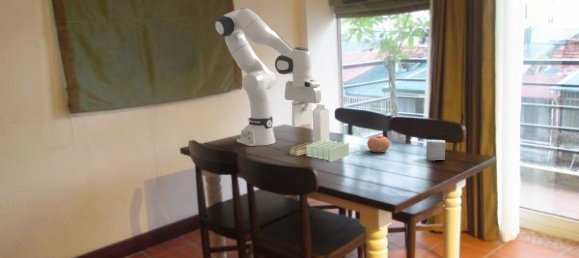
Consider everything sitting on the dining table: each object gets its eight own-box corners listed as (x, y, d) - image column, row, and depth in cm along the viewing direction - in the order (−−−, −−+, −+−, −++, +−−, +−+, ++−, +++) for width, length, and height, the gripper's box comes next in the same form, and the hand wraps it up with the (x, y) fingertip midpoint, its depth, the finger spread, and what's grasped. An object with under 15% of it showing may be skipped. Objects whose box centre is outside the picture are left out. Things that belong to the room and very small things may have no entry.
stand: (288, 155, 228) (288, 147, 227) (309, 148, 239) (309, 141, 238) (297, 157, 224) (297, 149, 223) (319, 150, 235) (318, 142, 234)
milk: (320, 148, 239) (319, 106, 234) (313, 146, 244) (311, 104, 239) (329, 146, 242) (328, 104, 238) (322, 144, 247) (321, 103, 242)
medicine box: (444, 158, 214) (445, 140, 212) (444, 161, 209) (445, 142, 208) (426, 157, 216) (427, 139, 214) (426, 160, 212) (426, 141, 210)
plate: (292, 126, 224) (292, 101, 222) (309, 122, 234) (309, 98, 231) (294, 127, 223) (294, 101, 221) (312, 123, 233) (312, 99, 230)
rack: (306, 157, 223) (305, 145, 222) (325, 150, 234) (325, 139, 233) (329, 162, 214) (329, 149, 213) (348, 155, 225) (348, 142, 224)
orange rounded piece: (380, 147, 237) (380, 132, 235) (394, 152, 227) (394, 136, 226) (362, 151, 232) (362, 135, 230) (376, 155, 222) (376, 139, 221)
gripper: (281, 81, 229) (281, 109, 232) (314, 84, 215) (314, 114, 218) (290, 79, 233) (290, 107, 236) (322, 82, 220) (322, 112, 223)
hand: (302, 110), depth 227 cm, fingers closed on plate, 2 cm apart
